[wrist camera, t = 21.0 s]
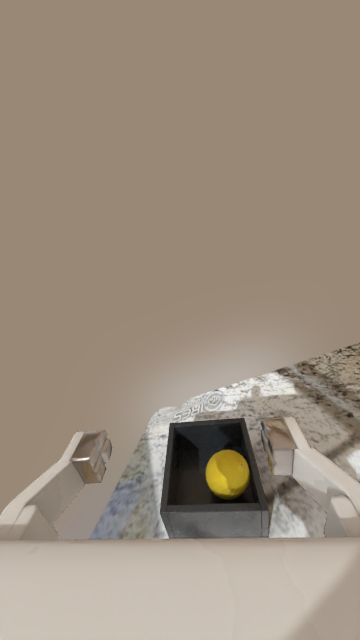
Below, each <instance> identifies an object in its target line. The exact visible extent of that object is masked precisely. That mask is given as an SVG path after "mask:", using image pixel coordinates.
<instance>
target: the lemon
mask: <svg viewBox="0 0 360 640" xmlns="http://www.w3.org/2000/svg"><path fill="white" fill-rule="evenodd" d="M206 481H207V483H208V486H209V488H210V490H211V491H212V492H213V493H214V494H215V495H216V496H217V497H219V498H222V499H224V500H232V499H235V498H238V497H239V496H240V495H242V494H243V493H244V492H245V490H246V489H247V487H248V485H249V481H250V470H249V467H248V464H247V462H246V460H245V459H244V458H243V456H242V455H240V454H239V453H238V452H236V451H233V450H222V451H219V452H217V453H215V454H214V455H213V456H212V457H211V458H210V460H209V462H208V464H207V467H206Z"/></svg>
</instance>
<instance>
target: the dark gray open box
mask: <svg viewBox="0 0 360 640" xmlns="http://www.w3.org/2000/svg"><path fill="white" fill-rule="evenodd" d="M222 450H233V451H236V452H238V453H239V454H240V455H242V456H243V458H244V459H245V460H246V462H247V464H248V467H249V470H250V481H249V485H248V487H247V489H246V490H245V492H244V493H243V494H242V495H240V496H239V497H238V498H235V499H232V500H224V499H222V498H219V497H217V496H216V495H215V494H214V493H213V492H212V491H211V490H210V488H209V486H208V483H207V481H206V467H207V464H208V462H209V460H210V458H211V457H212V456H213V455H214V454H215V453H217V452H219V451H222ZM160 515H161V517H162V520H163V523H164V525H165V528H166V531H167V533H168V536H169V539H208V538H268V506H267V503H266V499H265V495H264V491H263V487H262V484H261V480H260V476H259V472H258V468H257V465H256V461H255V457H254V453H253V449H252V446H251V442H250V438H249V434H248V430H247V427H246V423H245V419H244V418H240V419H239V418H237V419H223V420H209V421H195V422H181V423H170V427H169V436H168V445H167V454H166V463H165V471H164V480H163V489H162V498H161V507H160Z"/></svg>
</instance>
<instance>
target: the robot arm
mask: <svg viewBox="0 0 360 640" xmlns="http://www.w3.org/2000/svg"><path fill="white" fill-rule="evenodd" d="M261 426H262V430H261V437H262V442H263V446H264V450H265V452H266V453H268V462H269V465H270V468H271V471H272V475H292V477H293V478H294V479H295V480H296V481H297V482H298V483H299V484H300V485H301V486H302V487H303V488H304V489H305V491H306V492H307V493H308V494H309V495H310V496H311V497H312V498H313V499H314V500H315V501H316V502H317V504H318V505H319V506H320V507H321V508H322V509H323V510H324V511H325V512H326V513H327V514H328V515H327V519H326V524H325V528H324V534H325V537H317V538H208V539H99V540H57V538H58V536H59V535H58V532H57V531H56V529H55V528H54V527H53V524H54V523H55V521H56V520H57V519H58V518H59V516H60V515H61V514H62V513H63V512H64V510H65V509H66V508H67V507H68V505H69V504H70V503H71V502H72V501H73V499H74V498H75V497H76V496H77V494H78V493H79V492H80V491H81V490H82V488H83V487H84V486H85V484H89V483H101V482H102V479H103V476H104V473H105V470H106V467H105V464H106V463H107V462H108V461H109V458H110V456H111V451H112V445H111V441H110V440H109V439H108V438H106V437H107V433H106V431H105V430H98V431H97V430H96V431H78V432H77V433H75V435H74V436H73V438H72V440H71V442H70V443H69V445H68V447H67V449H66V451H65V453H64V454H63V456H62V458H61V460H60V461H59V462H56V463H55V464H54V465H53V466H51V467H50V468H49V469H48V470H47V471H46V472H44V473H43V474H42V475H41V476H40V477H39V478H38V479H36V480H35V481H34V482H33V483H32V484H31V485H29V486H28V487H27V488H26V489H25V490H24V491H22V492H21V493H20V494H19V495H18V496H17V497H16V498H14V500H12V501H11V502H10V503H9V504H8V505H7V506H6V508H5V509H4V511H3V512H2V514H1V515H0V640H360V482H358V481H357V480H356V479H355V478H353V477H352V476H351V475H349V474H348V473H347V472H345V471H344V470H343V469H341V468H340V467H339V466H338V465H336V464H335V463H334V462H332V461H331V460H330V459H328V458H327V457H326V456H324V455H323V454H322V453H321V452H319V451H318V450H317V449H315V448H311V447H310V445H309V443H308V441H307V439H306V438H305V436H304V434H303V432H302V430H301V428H300V426H299V424H298V423H297V421H296V419H295V417H293V416H288V417H273V418H261Z"/></svg>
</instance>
